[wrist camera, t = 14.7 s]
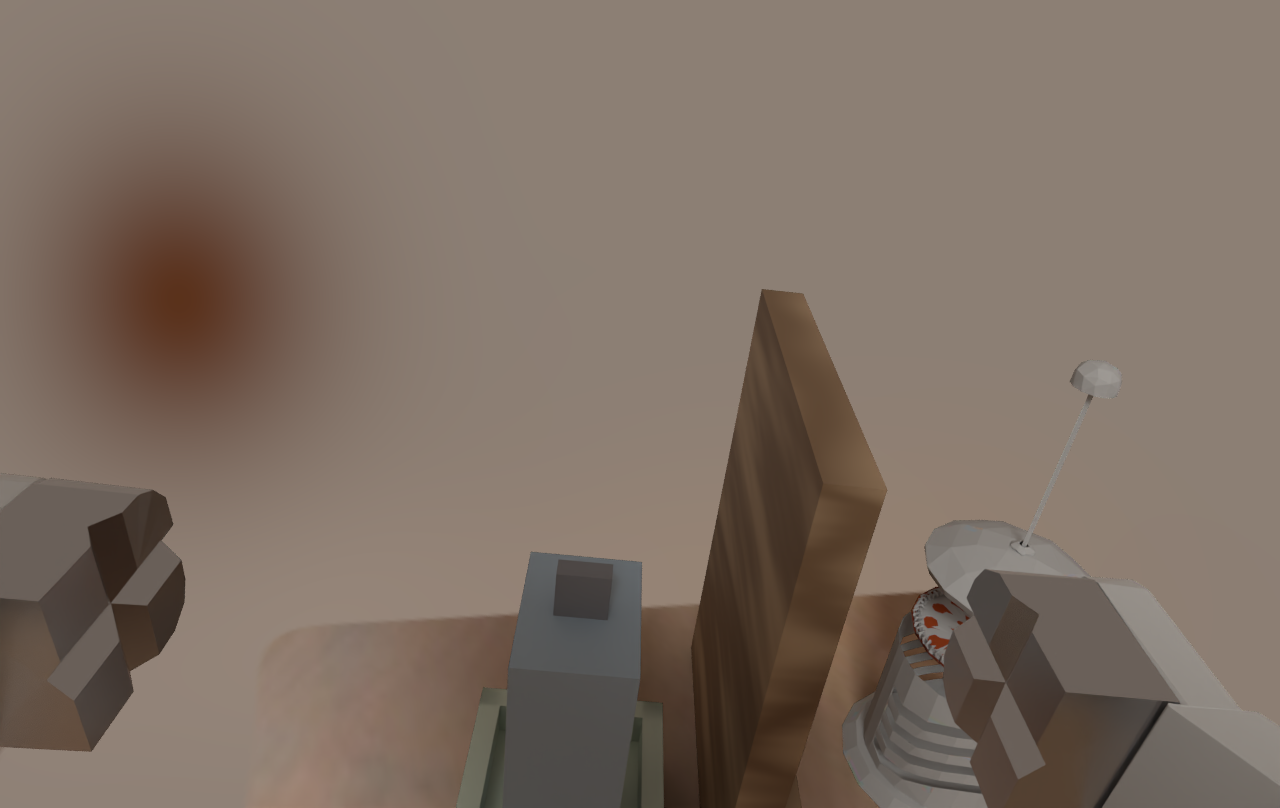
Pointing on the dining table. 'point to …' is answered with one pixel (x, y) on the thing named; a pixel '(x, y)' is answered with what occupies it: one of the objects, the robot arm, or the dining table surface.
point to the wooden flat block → (779, 562)
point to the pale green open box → (487, 754)
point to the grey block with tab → (573, 683)
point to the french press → (918, 710)
